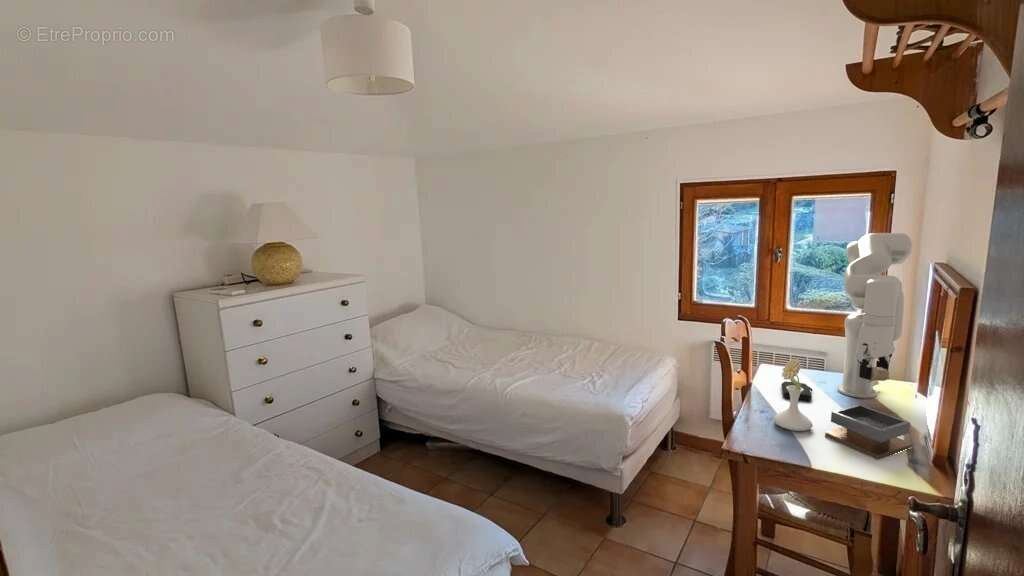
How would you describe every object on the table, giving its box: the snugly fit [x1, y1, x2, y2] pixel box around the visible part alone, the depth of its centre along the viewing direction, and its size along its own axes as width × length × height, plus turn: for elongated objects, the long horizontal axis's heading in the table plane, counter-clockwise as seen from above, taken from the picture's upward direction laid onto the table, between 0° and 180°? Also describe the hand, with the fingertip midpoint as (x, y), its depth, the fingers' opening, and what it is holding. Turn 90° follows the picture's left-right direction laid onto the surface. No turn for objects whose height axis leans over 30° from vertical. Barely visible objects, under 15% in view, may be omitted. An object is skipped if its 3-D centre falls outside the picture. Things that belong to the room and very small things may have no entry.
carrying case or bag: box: [780, 380, 813, 402], centre depth 187 cm, size 11×3×15 cm
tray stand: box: [824, 404, 914, 461], centre depth 149 cm, size 16×16×8 cm
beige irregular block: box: [865, 354, 890, 382], centre depth 146 cm, size 9×6×10 cm
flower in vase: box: [773, 358, 814, 432], centre depth 158 cm, size 13×11×25 cm
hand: (873, 376), depth 145 cm, fingers closed on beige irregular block, 6 cm apart
